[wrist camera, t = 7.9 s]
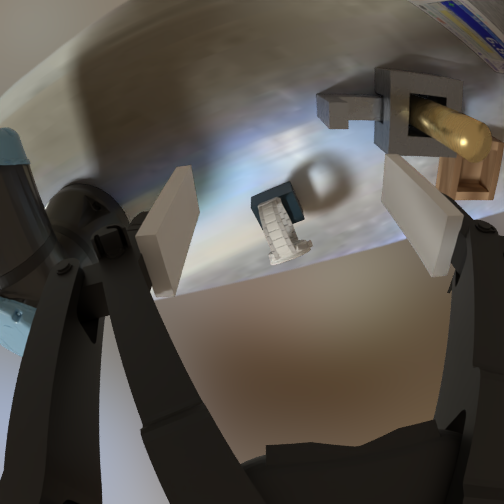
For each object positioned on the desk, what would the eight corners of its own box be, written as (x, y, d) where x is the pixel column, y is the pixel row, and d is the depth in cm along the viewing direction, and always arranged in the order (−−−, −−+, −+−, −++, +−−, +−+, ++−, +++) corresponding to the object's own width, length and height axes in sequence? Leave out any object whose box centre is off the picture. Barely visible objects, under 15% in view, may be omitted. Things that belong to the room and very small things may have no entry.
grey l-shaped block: (317, 116, 36) (329, 129, 30) (316, 94, 34) (328, 102, 28) (392, 117, 35) (416, 131, 29) (393, 96, 33) (418, 106, 28)
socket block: (373, 143, 37) (388, 155, 33) (374, 67, 32) (390, 70, 27) (438, 145, 37) (456, 157, 33) (442, 76, 31) (463, 81, 27)
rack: (435, 187, 40) (448, 200, 37) (442, 128, 35) (457, 137, 32) (479, 188, 40) (493, 200, 37) (488, 134, 35) (504, 143, 31)
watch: (270, 233, 45) (273, 285, 36) (245, 186, 41) (242, 229, 32) (307, 219, 44) (320, 268, 35) (284, 169, 40) (294, 208, 31)
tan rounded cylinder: (395, 121, 35) (457, 161, 23) (396, 92, 33) (462, 119, 21) (422, 123, 35) (488, 164, 23) (423, 94, 33) (494, 124, 21)
